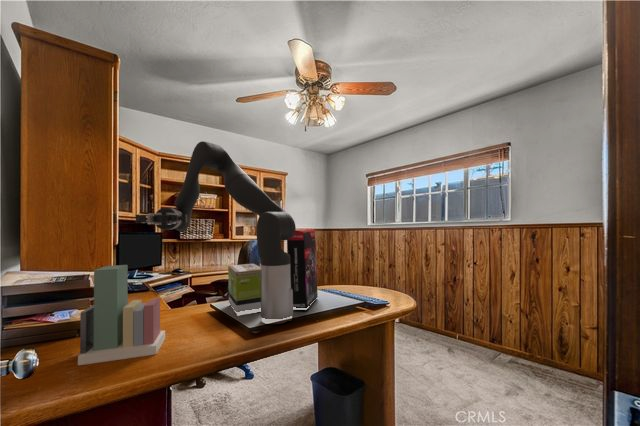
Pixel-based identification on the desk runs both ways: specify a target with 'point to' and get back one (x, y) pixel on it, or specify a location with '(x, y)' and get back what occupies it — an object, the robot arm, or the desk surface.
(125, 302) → the book
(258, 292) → the tea box
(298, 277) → the graphics card box
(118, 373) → the desk surface
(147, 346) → the shelf
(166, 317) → the desk surface
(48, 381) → the desk surface
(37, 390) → the desk surface
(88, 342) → the bookend
